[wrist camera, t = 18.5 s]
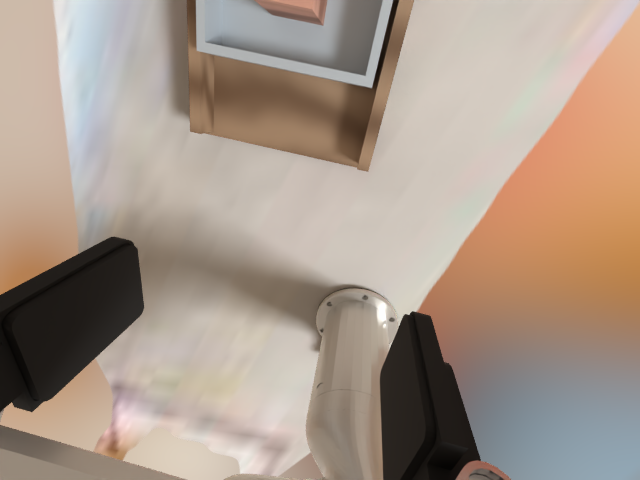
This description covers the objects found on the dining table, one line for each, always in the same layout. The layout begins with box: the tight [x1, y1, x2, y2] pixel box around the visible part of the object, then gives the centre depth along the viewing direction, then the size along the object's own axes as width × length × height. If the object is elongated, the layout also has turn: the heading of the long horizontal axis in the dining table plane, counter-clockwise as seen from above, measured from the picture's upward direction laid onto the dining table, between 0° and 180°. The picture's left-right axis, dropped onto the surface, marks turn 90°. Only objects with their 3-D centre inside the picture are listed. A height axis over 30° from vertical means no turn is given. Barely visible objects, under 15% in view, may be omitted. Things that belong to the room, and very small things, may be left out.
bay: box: [187, 0, 414, 172], centre depth 27 cm, size 23×20×5 cm
